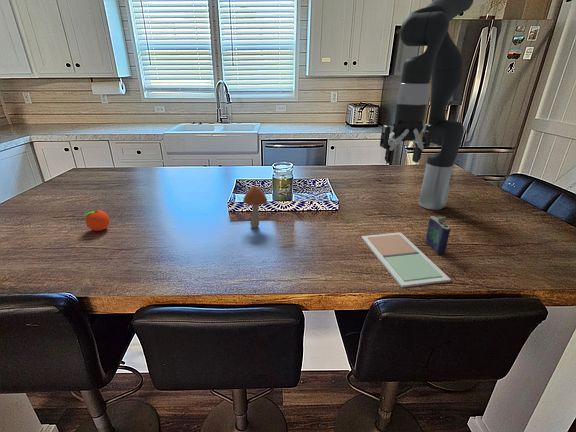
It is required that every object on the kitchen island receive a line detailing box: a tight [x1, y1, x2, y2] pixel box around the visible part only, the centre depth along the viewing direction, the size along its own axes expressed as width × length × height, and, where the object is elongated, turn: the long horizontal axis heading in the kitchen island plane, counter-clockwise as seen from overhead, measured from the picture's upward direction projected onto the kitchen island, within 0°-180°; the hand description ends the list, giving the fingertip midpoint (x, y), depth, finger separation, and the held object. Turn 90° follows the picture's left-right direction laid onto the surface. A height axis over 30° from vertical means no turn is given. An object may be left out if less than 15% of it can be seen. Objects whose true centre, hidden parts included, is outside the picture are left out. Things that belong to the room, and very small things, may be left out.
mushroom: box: [242, 185, 268, 229], centre depth 107 cm, size 8×8×15 cm
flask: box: [423, 215, 451, 257], centre depth 96 cm, size 9×3×11 cm, turn 8°
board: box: [360, 232, 451, 288], centre depth 93 cm, size 14×26×1 cm, turn 11°
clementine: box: [81, 209, 111, 232], centre depth 106 cm, size 8×7×7 cm
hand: (401, 162), depth 90 cm, fingers open, 7 cm apart
